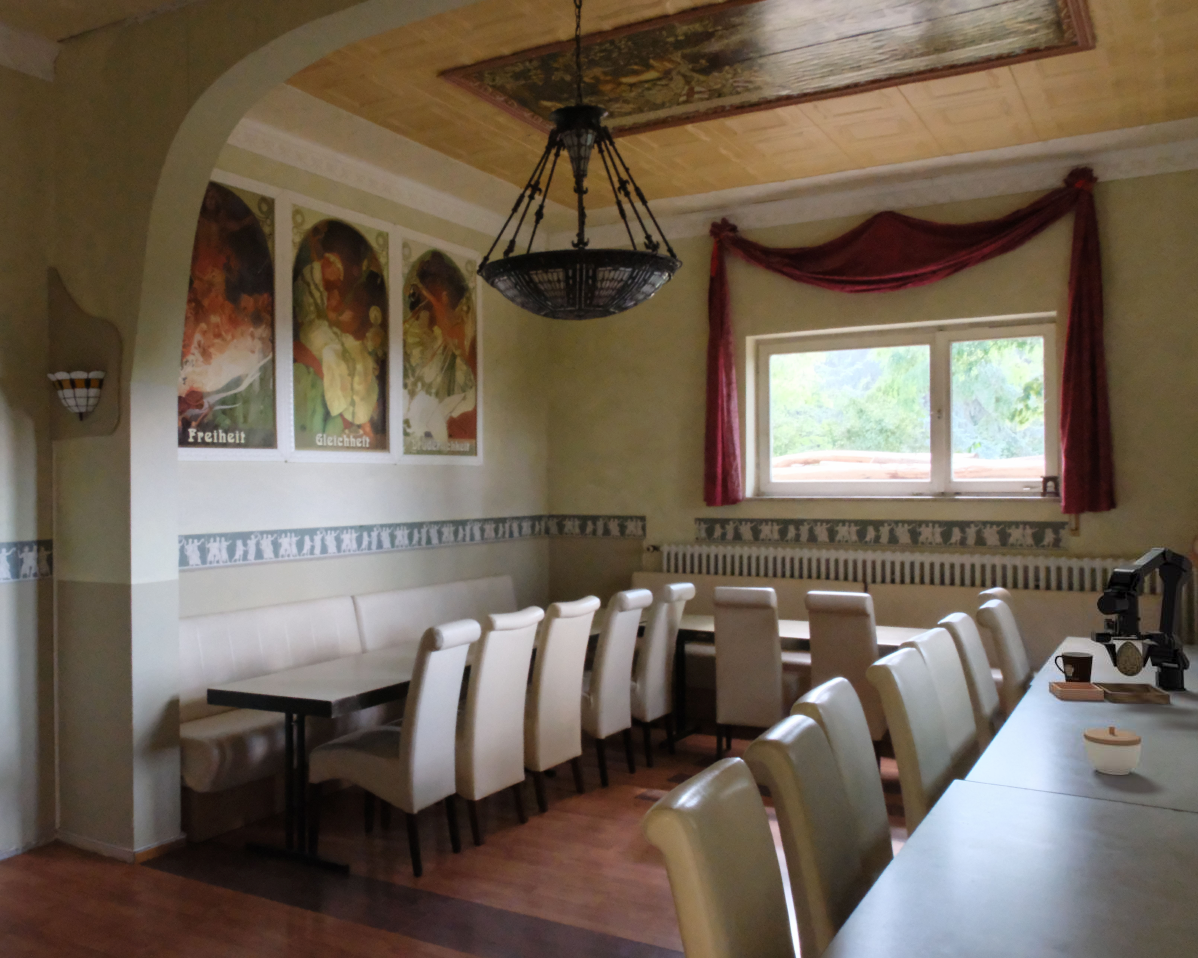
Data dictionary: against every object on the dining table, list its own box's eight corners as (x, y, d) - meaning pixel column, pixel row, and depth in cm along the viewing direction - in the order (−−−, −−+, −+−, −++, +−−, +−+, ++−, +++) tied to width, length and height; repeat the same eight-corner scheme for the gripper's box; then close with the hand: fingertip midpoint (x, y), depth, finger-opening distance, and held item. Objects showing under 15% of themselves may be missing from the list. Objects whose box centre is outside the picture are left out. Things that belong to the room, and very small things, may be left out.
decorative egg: (1147, 678, 274) (1146, 643, 274) (1119, 678, 275) (1118, 642, 275) (1138, 674, 281) (1137, 639, 281) (1111, 673, 282) (1111, 639, 282)
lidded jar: (1140, 781, 198) (1139, 734, 198) (1082, 773, 203) (1080, 728, 204) (1143, 768, 207) (1142, 723, 207) (1087, 761, 213) (1086, 718, 213)
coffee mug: (1099, 690, 288) (1098, 656, 288) (1070, 690, 288) (1069, 656, 288) (1080, 682, 300) (1080, 650, 300) (1052, 682, 300) (1051, 650, 300)
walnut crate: (1150, 691, 284) (1149, 683, 284) (1170, 703, 269) (1170, 694, 269) (1092, 690, 287) (1092, 682, 287) (1109, 701, 272) (1109, 692, 272)
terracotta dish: (1091, 691, 285) (1091, 682, 285) (1103, 700, 274) (1103, 690, 274) (1049, 691, 288) (1048, 681, 288) (1059, 699, 276) (1059, 689, 276)
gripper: (1153, 609, 285) (1154, 662, 284) (1084, 609, 288) (1085, 661, 288) (1167, 614, 274) (1168, 669, 273) (1095, 613, 277) (1097, 668, 277)
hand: (1129, 667), depth 278 cm, fingers closed on decorative egg, 7 cm apart
